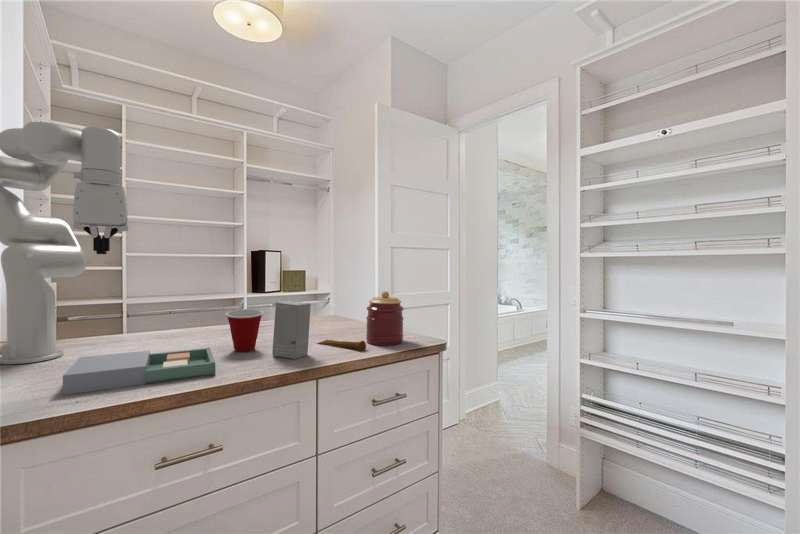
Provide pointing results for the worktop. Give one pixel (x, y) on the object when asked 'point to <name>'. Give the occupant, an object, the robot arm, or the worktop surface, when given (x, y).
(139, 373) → the grey board
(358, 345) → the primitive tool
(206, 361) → the tray
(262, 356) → the worktop surface
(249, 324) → the plastic cup
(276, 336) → the skincare box
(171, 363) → the tile cream
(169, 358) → the tile terracotta
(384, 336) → the canister
